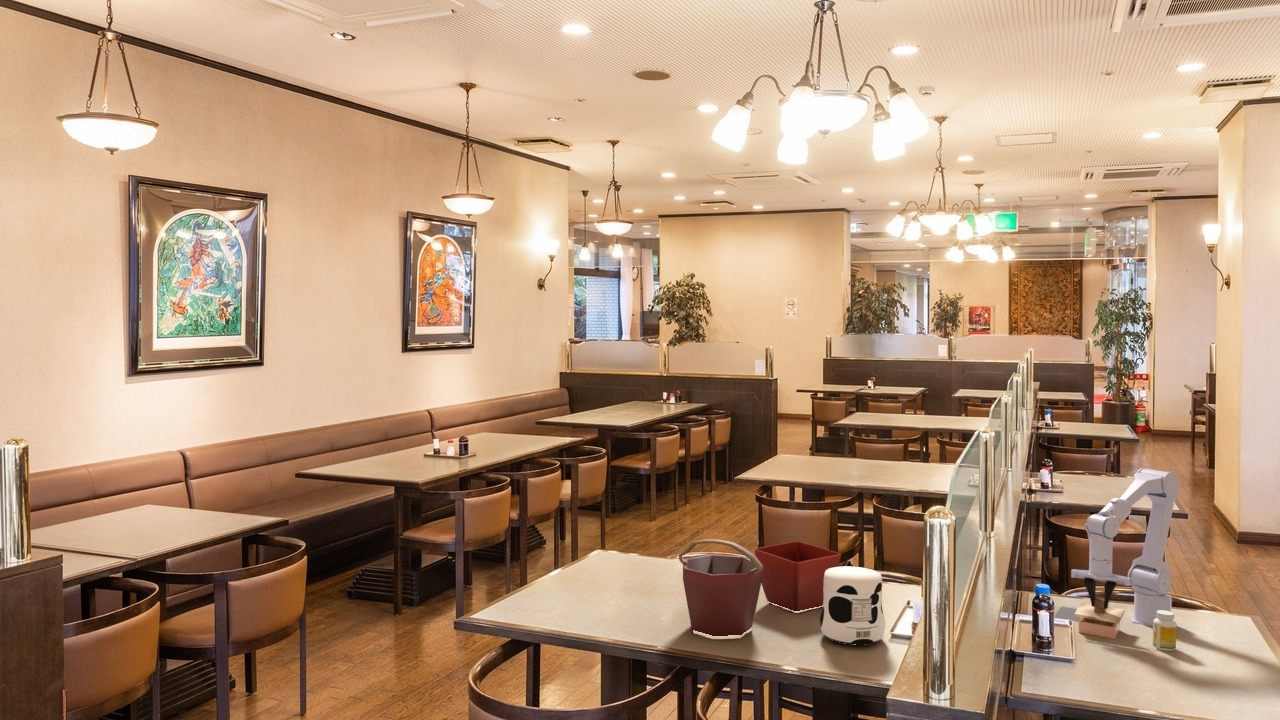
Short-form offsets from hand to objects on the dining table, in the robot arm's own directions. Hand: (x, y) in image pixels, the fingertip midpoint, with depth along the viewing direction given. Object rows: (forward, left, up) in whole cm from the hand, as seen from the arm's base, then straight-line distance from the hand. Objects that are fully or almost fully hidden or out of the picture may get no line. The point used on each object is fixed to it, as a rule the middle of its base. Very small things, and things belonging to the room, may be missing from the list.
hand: (1099, 606), depth 251 cm
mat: (+6, -12, -7) cm, 15 cm away
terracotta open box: (0, 0, -7) cm, 7 cm away
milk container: (+54, +45, -8) cm, 71 cm away
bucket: (+87, +59, -8) cm, 105 cm away
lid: (0, 0, -2) cm, 2 cm away
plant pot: (+79, +27, -8) cm, 84 cm away
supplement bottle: (-16, +3, -8) cm, 18 cm away
